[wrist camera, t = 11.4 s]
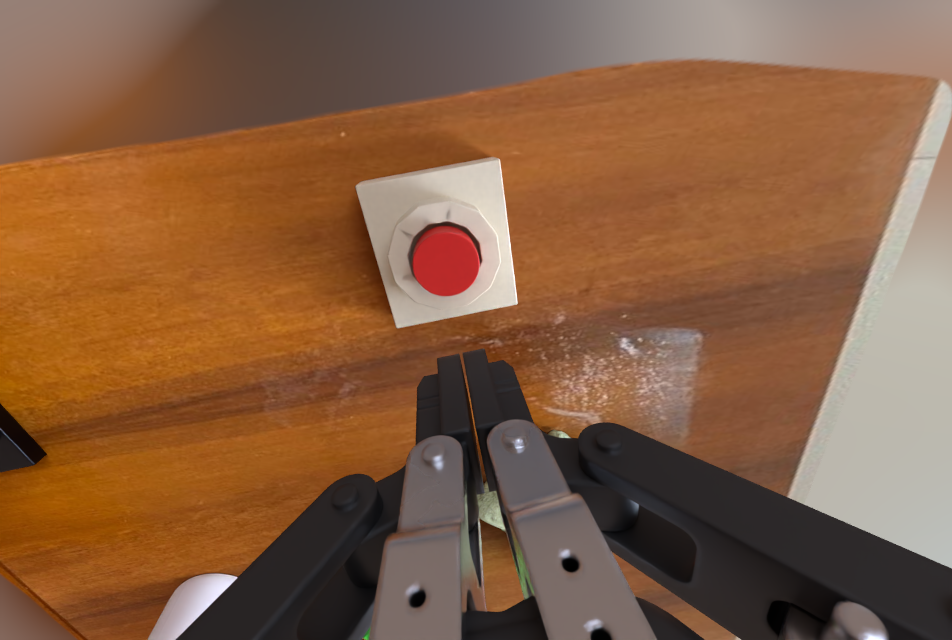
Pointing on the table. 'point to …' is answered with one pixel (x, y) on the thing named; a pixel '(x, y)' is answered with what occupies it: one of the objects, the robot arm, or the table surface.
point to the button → (445, 261)
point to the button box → (431, 205)
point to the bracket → (16, 445)
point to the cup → (189, 604)
